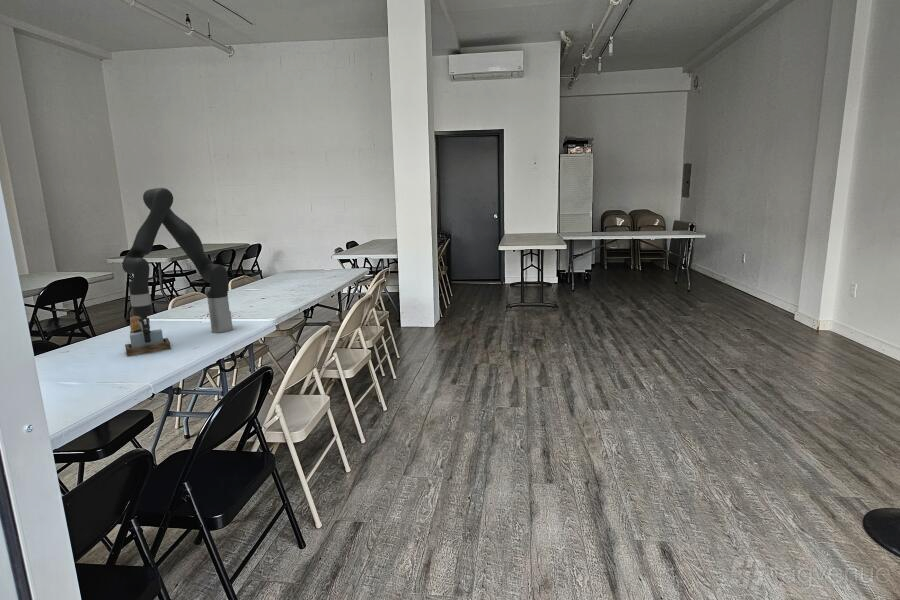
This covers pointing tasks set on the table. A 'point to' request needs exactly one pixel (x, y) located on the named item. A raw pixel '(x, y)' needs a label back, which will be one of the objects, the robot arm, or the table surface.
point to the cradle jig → (148, 348)
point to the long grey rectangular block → (139, 340)
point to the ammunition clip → (135, 325)
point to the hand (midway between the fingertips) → (147, 340)
